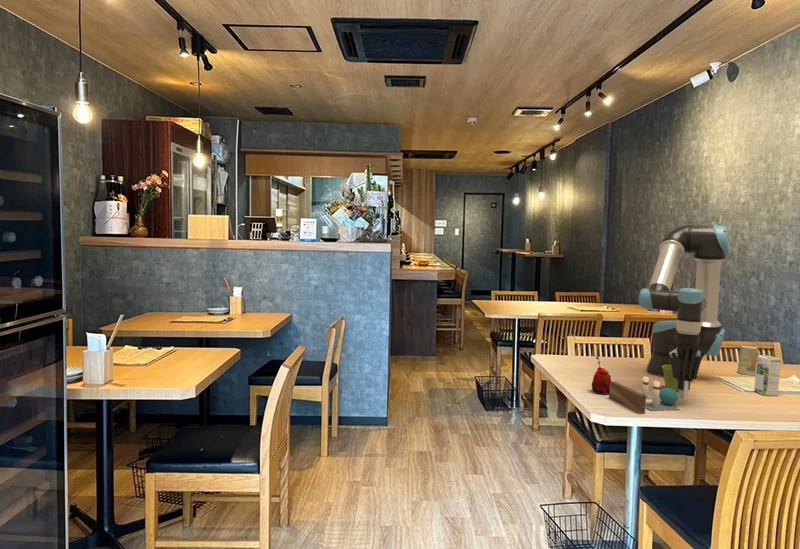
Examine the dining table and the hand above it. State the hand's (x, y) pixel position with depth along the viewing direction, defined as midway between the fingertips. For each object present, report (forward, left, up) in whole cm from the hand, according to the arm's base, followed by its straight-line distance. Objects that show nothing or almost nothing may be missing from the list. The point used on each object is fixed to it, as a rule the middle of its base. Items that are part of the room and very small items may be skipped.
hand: (682, 398), depth 197 cm
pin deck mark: (+11, 0, -2) cm, 12 cm away
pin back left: (+13, +3, -2) cm, 13 cm away
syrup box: (-44, -10, -2) cm, 45 cm away
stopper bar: (+22, 0, -2) cm, 22 cm away
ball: (+6, 0, +1) cm, 6 cm away
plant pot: (-10, -18, -2) cm, 21 cm away
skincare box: (-63, -40, -2) cm, 75 cm away
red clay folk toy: (+22, -16, -2) cm, 27 cm away
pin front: (+10, +1, -1) cm, 10 cm away
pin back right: (+13, -3, -2) cm, 13 cm away
